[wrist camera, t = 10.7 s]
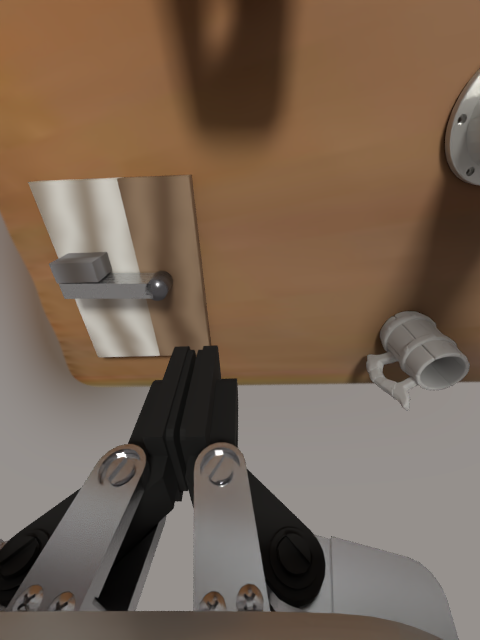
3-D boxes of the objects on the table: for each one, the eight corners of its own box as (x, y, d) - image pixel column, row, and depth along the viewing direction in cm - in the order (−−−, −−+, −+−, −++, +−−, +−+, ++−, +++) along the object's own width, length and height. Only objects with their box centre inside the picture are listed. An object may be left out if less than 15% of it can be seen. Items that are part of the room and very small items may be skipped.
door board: (191, 174, 31) (181, 178, 26) (211, 346, 44) (207, 371, 39) (39, 180, 31) (0, 185, 26) (103, 349, 44) (85, 374, 39)
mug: (436, 330, 42) (499, 386, 32) (369, 369, 46) (405, 429, 36) (415, 299, 39) (477, 349, 29) (345, 343, 43) (377, 400, 33)
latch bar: (171, 270, 35) (164, 281, 32) (174, 288, 36) (168, 300, 33) (73, 270, 35) (57, 281, 32) (80, 288, 36) (65, 300, 33)
